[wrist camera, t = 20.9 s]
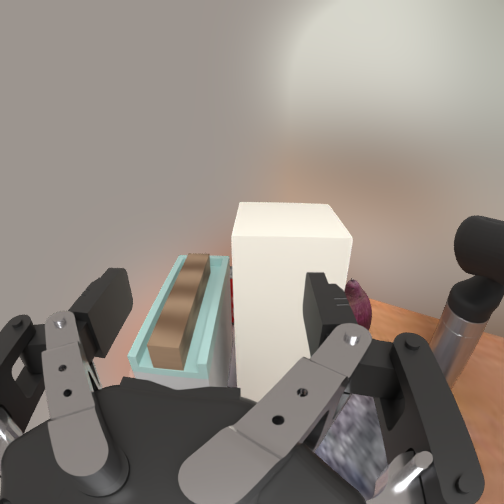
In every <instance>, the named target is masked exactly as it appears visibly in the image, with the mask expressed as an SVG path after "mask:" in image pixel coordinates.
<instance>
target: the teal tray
mask: <svg viewBox="0 0 504 504" xmlns="http://www.w3.org/2000/svg"><path fill="white" fill-rule="evenodd" d="M187 256H188V255H179V257H178V259H177V261H176V262H175V264H174V266H173V268H172V270H171V271H170V274H169V275H168V277H167V279H166V281H165V283H164V285H163V286H162V288H161V290H160V292H159V294H158V296H157V298H156V300H155V302H154V304H153V305H152V307H151V310H150V311H149V313H148V315H147V317H146V319H145V321H144V323H143V325H142V327H141V329H140V331H139V333H138V335H137V337H136V339H135V341H134V343H133V345H132V347H131V350H130V352H129V354H128V359H129V362H130V365H131V367H132V370H133V371H136V372H143V373H150V374H158V375H166V376H175V377H185V378H196V379H209V374H210V369H211V363H212V358H213V352H214V347H215V342H216V336H217V331H218V326H219V321H220V315H221V310H222V305H223V300H224V295H225V290H226V285H227V280H228V275H229V270H230V265H229V256H210V271H211V273H210V277H209V280H208V283H207V287H206V290H205V294H204V297H203V301H202V304H201V308H200V312H199V315H198V319H197V322H196V326H195V330H194V333H193V337H192V341H191V344H190V348H189V352H188V356H187V359H186V363H185V367H184V371H181V370H170V369H161V368H153V364H152V361H151V358H150V355H149V351H148V348H147V343H148V341H149V339H150V336H151V334H152V332H153V329H154V327H155V325H156V323H157V320H158V318H159V316H160V314H161V311H162V309H163V307H164V305H165V302H166V300H167V298H168V296H169V294H170V292H171V289H172V287H173V285H174V283H175V281H176V279H177V277H178V274H179V272H180V270H181V268H182V266H183V264H184V262H185V260H186V258H187Z"/></svg>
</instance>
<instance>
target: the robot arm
mask: <svg viewBox="0 0 504 504" xmlns="http://www.w3.org/2000/svg"><path fill="white" fill-rule="evenodd" d="M454 252H455V256H456V260H457V262H458V264H459V266H460V267H461V268H462V270H464V271H465V272H466V273H468V274H472V275H475V276H474V277H472V278H470V279H467V280H464V281H461V282H458V283H457V284H455V285H454V286H453V287H452V289H451V291H450V294H449V296H448V299H447V302H446V305H445V307H444V310H443V313H442V316H441V318H440V320H439V323H438V325H437V328H436V330H435V333H434V335H433V337H432V339H431V342H430V344H428V343H427V341H426V340H425V339H424V338H423V337H421V336H419V335H417V334H414V333H401V334H399V335H398V336H396V338H395V339H394V342H393V343H392V342H385V341H379V340H375V339H372V336H371V334H370V332H369V331H368V330H367V329H366V328H364V327H363V326H361V325H358V323H357V321H356V318H355V316H354V313H353V311H352V309H351V306H350V305H349V302H348V299H347V297H346V295H345V293H344V290H343V289H342V288H340V287H339V286H338V285H337V284H329V283H328V281H327V278H326V276H325V273H324V272H307V273H306V278H305V288H304V297H303V319H304V324H305V330H306V335H307V340H308V345H309V351H310V356H311V358H310V359H308V358H306V357H302V358H301V359H299V360H298V361H297V362H296V364H295V365H294V366H293V367H292V368H291V369H290V370H289V371H288V372H287V373H286V374H285V375H284V376H283V377H282V378H281V380H280V381H279V382H278V383H277V384H276V385H275V386H274V387H273V388H272V389H271V390H270V391H269V392H268V393H267V394H266V395H265V396H264V397H263V398H262V399H261V400H260V401H259V402H256V401H253V400H251V399H248V398H244V397H241V388H231V387H212V386H209V387H201V388H192V389H183V390H176V389H172V388H169V387H167V386H164V385H161V384H158V383H155V382H152V381H150V380H143V379H136V378H130V377H123V378H122V381H121V383H120V385H113V386H109V387H105V388H102V385H101V383H100V380H99V377H98V374H97V371H96V368H95V365H94V362H93V358H94V356H95V357H100V358H105V357H106V355H107V353H108V351H109V349H110V348H111V346H112V344H113V342H114V340H115V338H116V337H117V335H118V333H119V331H120V329H121V328H122V326H123V324H124V322H125V320H126V319H127V317H128V315H129V313H130V312H131V310H132V305H133V298H132V293H131V289H130V285H129V280H128V275H127V272H126V270H125V269H124V268H108V269H107V271H106V272H105V273H104V274H103V275H102V276H101V278H98V279H97V280H95V281H94V282H92V283H91V284H90V285H89V286H88V287H87V289H86V291H84V292H83V293H82V295H81V296H80V297H79V298H78V299H77V300H76V302H75V303H74V304H73V305H72V307H71V308H70V309H69V310H68V311H60V312H56V313H54V314H52V315H51V316H50V317H49V318H48V319H47V320H46V322H45V324H40V325H33V323H32V321H31V319H30V317H29V316H28V315H19V316H16V317H14V318H12V319H11V320H10V321H9V322H8V323H7V324H6V325H5V327H4V328H3V329H2V330H1V332H0V478H1V495H0V504H475V503H476V502H477V501H478V500H479V498H480V497H481V495H482V493H483V490H484V485H485V482H484V476H483V473H482V470H481V467H480V464H479V461H478V458H477V455H476V452H475V449H474V446H473V443H472V441H471V438H470V435H469V433H468V430H467V428H466V425H465V422H464V420H463V418H462V415H461V413H460V410H459V408H458V405H457V403H456V401H455V399H454V396H453V394H452V392H451V390H450V389H451V388H452V386H453V385H454V383H455V382H456V380H457V379H458V377H459V375H460V374H461V372H462V370H463V369H464V367H465V365H466V364H467V362H468V360H469V358H470V356H471V355H472V353H473V351H474V349H475V347H476V345H477V343H478V341H479V339H480V337H481V335H482V333H483V331H484V329H485V327H486V325H487V323H488V321H489V318H490V316H491V314H492V312H493V311H494V310H495V309H496V308H497V307H498V306H499V304H500V302H501V300H502V298H503V295H504V221H501V220H497V219H491V218H488V217H483V216H471V217H468V218H467V219H465V220H464V221H463V222H462V223H461V225H460V226H459V228H458V230H457V232H456V235H455V240H454ZM18 357H20V358H21V360H22V362H23V363H24V365H25V366H24V368H23V369H22V371H21V373H20V374H19V376H18V378H17V379H16V381H14V379H13V377H12V367H13V365H14V363H15V362H16V360H17V359H18ZM44 390H46V396H47V403H48V409H49V415H50V419H49V420H47V421H45V422H44V423H42V424H40V425H38V426H37V427H35V428H33V429H32V430H30V431H29V432H26V433H25V434H23V433H24V432H25V429H26V427H27V425H28V423H29V421H30V418H31V416H32V414H33V412H34V410H35V408H36V406H37V404H38V402H39V400H40V397H41V396H42V394H43V392H44ZM352 393H353V394H359V395H365V396H371V397H373V398H374V402H375V406H376V410H377V414H378V419H379V423H380V428H381V432H382V437H383V442H384V446H385V451H386V456H387V462H388V466H387V467H386V468H385V469H384V470H383V472H382V473H381V474H380V475H379V476H378V478H377V480H376V484H375V493H374V496H373V498H372V499H371V500H368V501H365V499H364V498H363V496H362V495H361V494H360V493H359V491H358V490H356V489H355V488H354V487H353V486H352V485H350V484H349V483H348V482H347V481H346V480H345V479H343V478H342V477H341V476H340V475H339V474H338V473H336V472H335V471H334V470H333V469H332V468H331V467H330V466H328V465H327V464H326V463H325V462H324V461H323V460H322V459H321V458H320V457H318V456H317V455H316V454H315V453H314V452H315V451H316V449H317V448H318V447H319V445H320V444H321V442H322V441H323V439H324V437H325V436H326V434H327V432H328V430H329V429H330V427H331V425H332V424H333V422H334V421H335V420H336V418H337V417H338V415H339V414H340V412H341V411H342V409H343V407H344V406H345V404H346V403H347V401H348V400H349V398H350V397H351V395H352Z"/></svg>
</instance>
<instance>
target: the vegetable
mask: <svg viewBox="0 0 504 504" xmlns="http://www.w3.org/2000/svg"><path fill="white" fill-rule="evenodd" d="M344 293H345V295H346V297H347V299H348V302H349V305H350V306H351V309H352V311H353V313H354V316H355V318H356V321H357V323H358V325H361V326H363V327H364V328H366V329H367V330H369V328H370V325H371V319H372V309H371V304H370V301H369V298H368V296H367V295H366V293H365V292H364V291H363V289H362V288H361V286H360V285H359V283H358V282H357V281H356V280H354V279H352V278H351V280H349V281H348V283H347V284H346V285H345V290H344Z"/></svg>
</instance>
